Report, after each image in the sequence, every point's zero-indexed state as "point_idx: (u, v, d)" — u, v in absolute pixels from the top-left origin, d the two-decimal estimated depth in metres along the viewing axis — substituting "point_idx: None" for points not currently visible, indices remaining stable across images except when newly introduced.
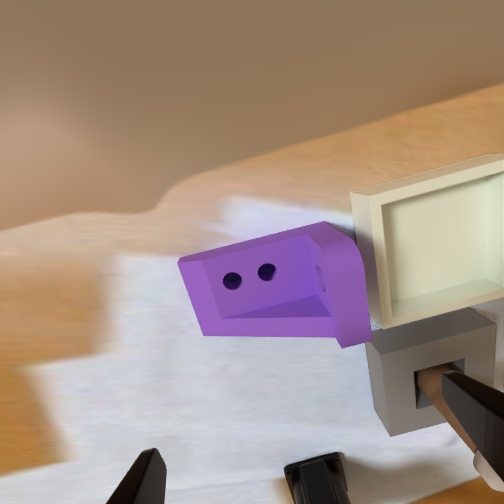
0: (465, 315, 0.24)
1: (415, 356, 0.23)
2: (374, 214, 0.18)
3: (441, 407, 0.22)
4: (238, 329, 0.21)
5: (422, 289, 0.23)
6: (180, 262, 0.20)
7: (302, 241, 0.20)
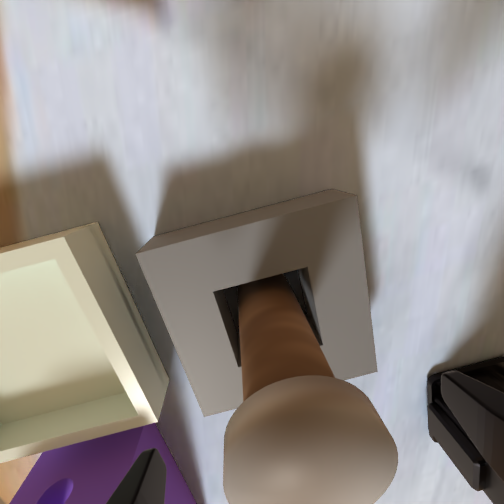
0: None
1: (207, 371, 0.14)
2: None
3: None
4: None
5: None
6: None
7: None
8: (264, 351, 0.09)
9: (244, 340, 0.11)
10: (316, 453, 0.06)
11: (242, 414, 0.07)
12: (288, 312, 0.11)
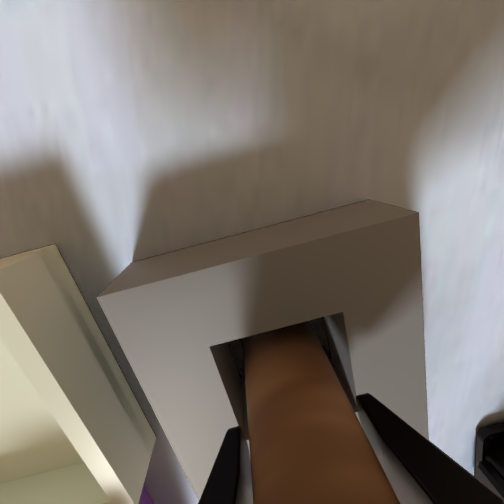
0: None
1: (202, 446, 0.10)
2: None
3: None
4: None
5: None
6: None
7: None
8: (292, 483, 0.05)
9: (256, 435, 0.07)
10: None
11: None
12: (321, 390, 0.07)
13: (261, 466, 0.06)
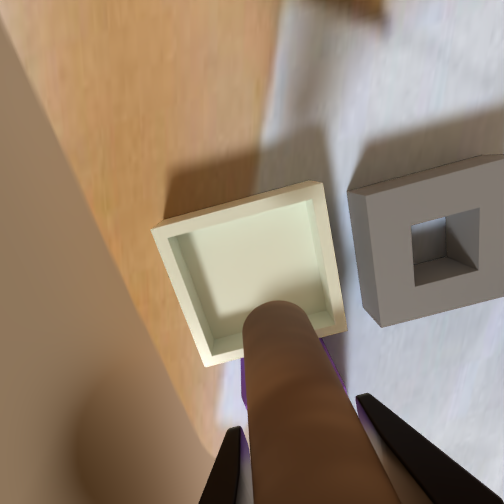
0: (355, 207, 0.19)
1: (392, 289, 0.19)
2: (221, 359, 0.20)
3: None
4: None
5: (312, 268, 0.20)
6: None
7: None
8: (293, 483, 0.05)
9: (256, 435, 0.07)
10: None
11: None
12: (322, 389, 0.07)
13: (261, 466, 0.06)
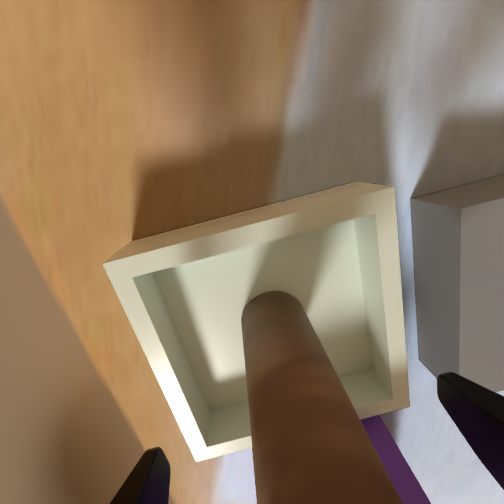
0: (427, 224, 0.12)
1: (482, 348, 0.12)
2: (220, 451, 0.13)
3: None
4: None
5: (356, 312, 0.14)
6: None
7: None
8: (287, 441, 0.06)
9: (255, 407, 0.08)
10: None
11: None
12: (314, 367, 0.08)
13: (260, 431, 0.07)
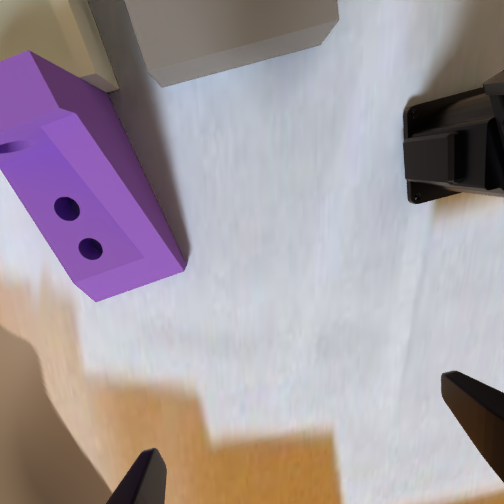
0: None
1: None
2: None
3: None
4: (149, 238, 0.17)
5: None
6: (94, 299, 0.19)
7: (10, 169, 0.15)
8: None
9: None
10: None
11: None
12: None
13: None
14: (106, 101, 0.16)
